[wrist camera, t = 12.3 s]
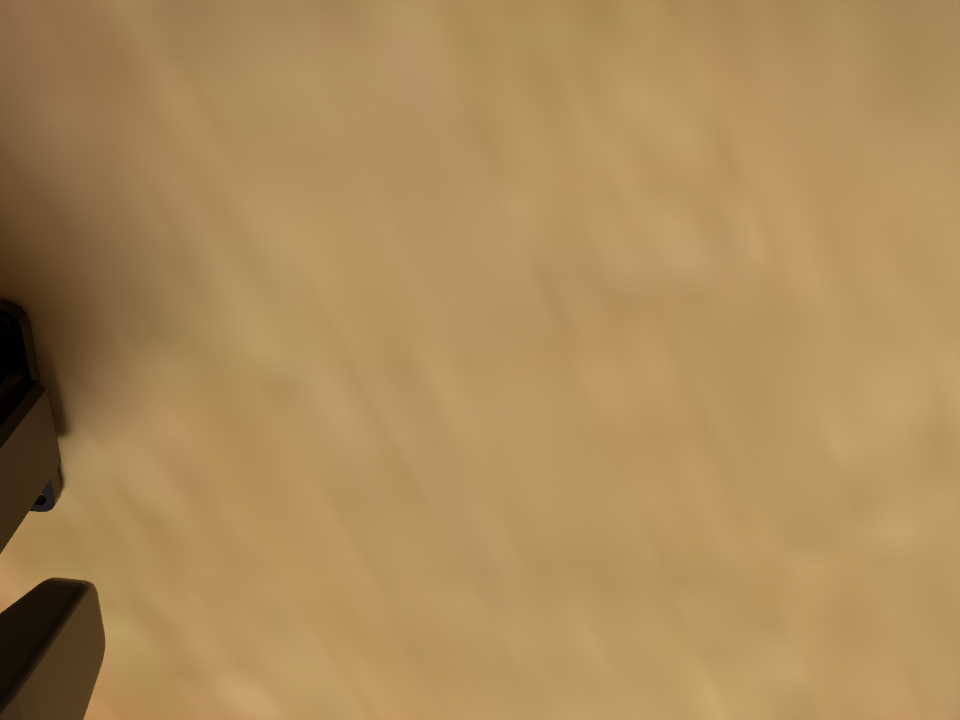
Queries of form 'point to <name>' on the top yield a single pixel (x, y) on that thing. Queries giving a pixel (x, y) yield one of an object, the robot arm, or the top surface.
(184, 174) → the top surface
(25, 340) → the robot arm
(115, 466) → the top surface
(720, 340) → the top surface
